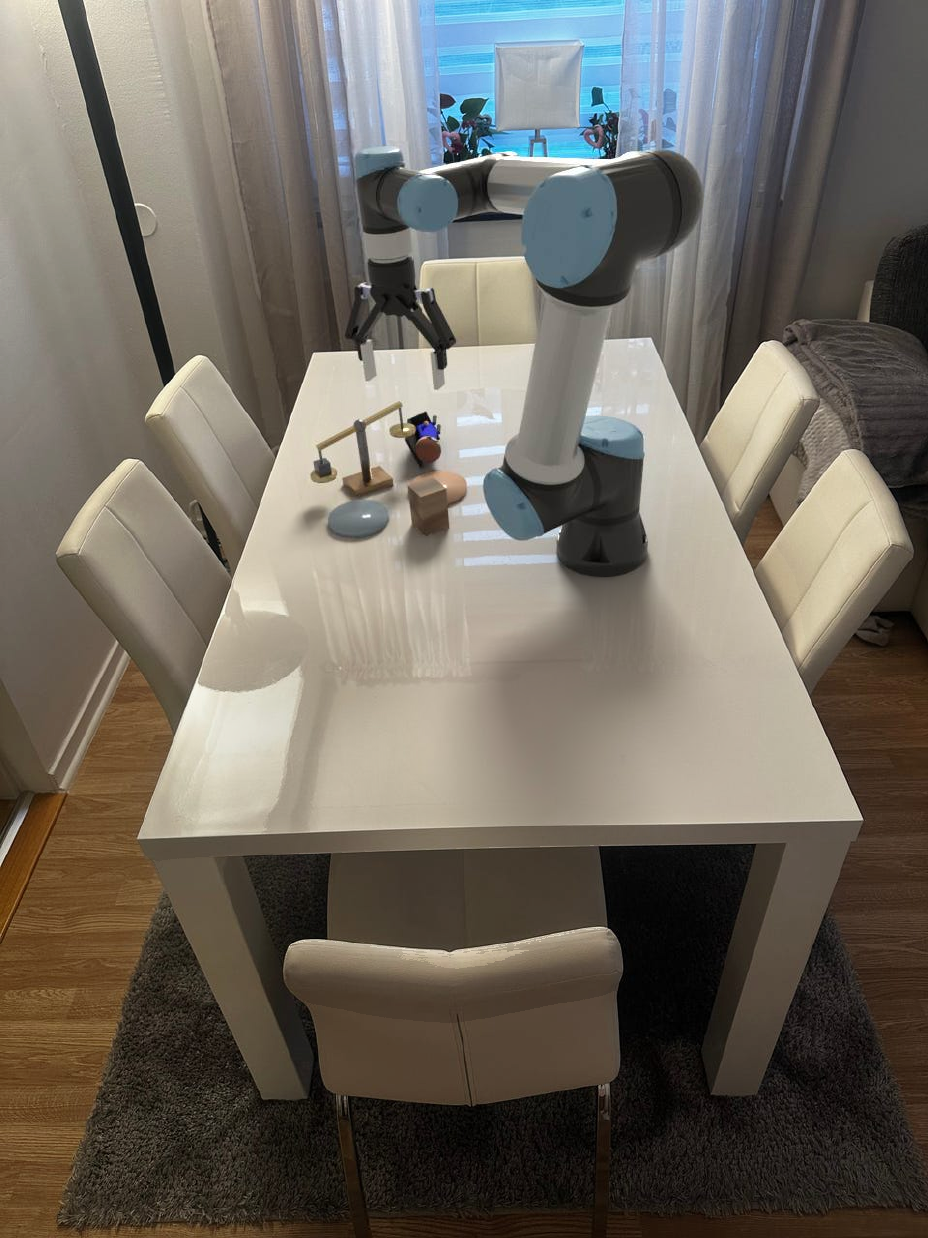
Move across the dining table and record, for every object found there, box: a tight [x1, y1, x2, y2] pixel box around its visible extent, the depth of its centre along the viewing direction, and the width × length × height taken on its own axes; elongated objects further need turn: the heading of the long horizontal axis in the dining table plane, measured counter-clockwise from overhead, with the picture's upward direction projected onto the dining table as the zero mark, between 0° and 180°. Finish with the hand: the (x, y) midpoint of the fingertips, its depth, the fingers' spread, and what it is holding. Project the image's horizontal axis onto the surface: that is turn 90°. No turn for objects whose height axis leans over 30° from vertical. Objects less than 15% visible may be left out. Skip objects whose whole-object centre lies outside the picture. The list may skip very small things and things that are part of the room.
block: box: [407, 477, 450, 537], centre depth 157 cm, size 5×5×8 cm
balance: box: [309, 401, 416, 498], centre depth 168 cm, size 6×22×15 cm, turn 120°
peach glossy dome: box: [408, 470, 468, 505], centre depth 169 cm, size 11×11×1 cm
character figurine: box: [404, 411, 442, 469], centre depth 179 cm, size 8×7×15 cm
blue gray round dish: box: [327, 499, 390, 539], centre depth 162 cm, size 11×11×1 cm
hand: (404, 382), depth 156 cm, fingers open, 13 cm apart
